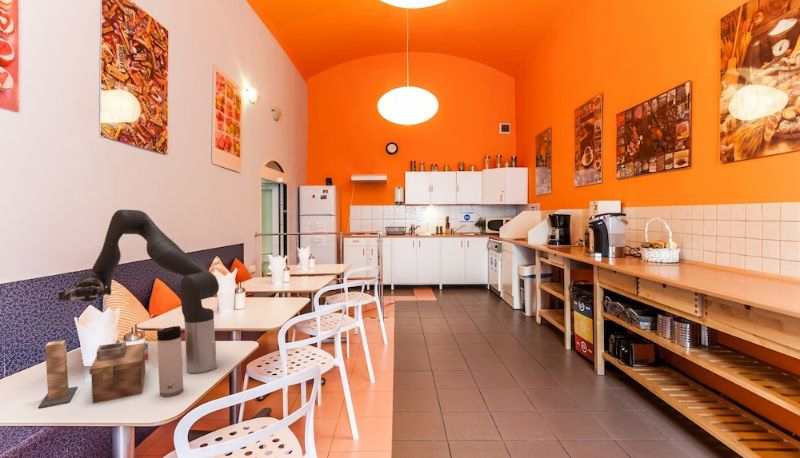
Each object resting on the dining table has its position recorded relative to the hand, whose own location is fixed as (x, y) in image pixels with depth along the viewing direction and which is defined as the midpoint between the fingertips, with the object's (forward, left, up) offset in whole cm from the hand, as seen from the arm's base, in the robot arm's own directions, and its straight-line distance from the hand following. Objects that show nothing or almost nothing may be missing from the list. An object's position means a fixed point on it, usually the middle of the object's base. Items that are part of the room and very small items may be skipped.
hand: (83, 295), depth 137 cm
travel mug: (-24, +27, -28) cm, 46 cm away
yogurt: (-13, -7, -28) cm, 32 cm away
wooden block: (+5, +13, -27) cm, 31 cm away
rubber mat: (+5, +13, -28) cm, 31 cm away
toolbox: (-10, +13, -28) cm, 33 cm away
